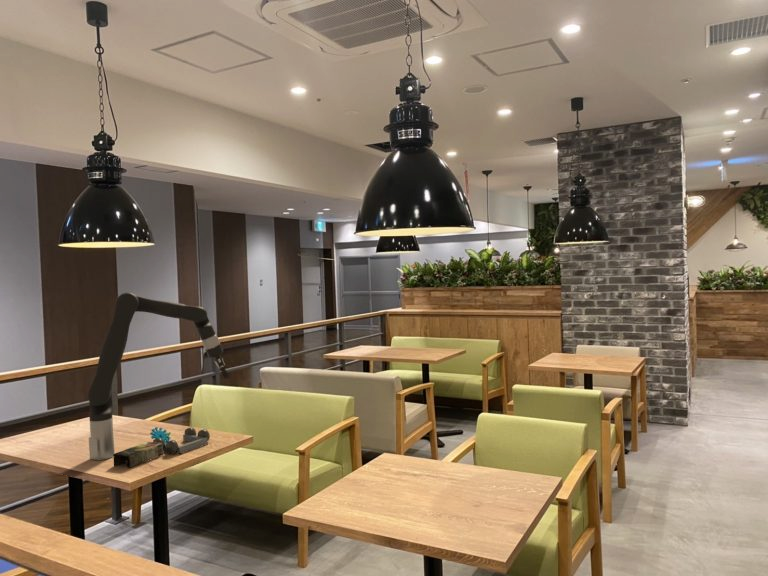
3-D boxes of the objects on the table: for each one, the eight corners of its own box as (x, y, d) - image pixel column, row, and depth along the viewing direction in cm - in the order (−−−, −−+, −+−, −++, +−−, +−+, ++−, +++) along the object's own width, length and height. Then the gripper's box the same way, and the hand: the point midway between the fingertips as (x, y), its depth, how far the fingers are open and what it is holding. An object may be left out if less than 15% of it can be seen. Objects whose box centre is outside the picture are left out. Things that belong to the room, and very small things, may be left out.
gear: (157, 444, 270) (148, 427, 275) (150, 452, 272) (141, 435, 276) (176, 441, 280) (167, 424, 284) (170, 448, 282) (161, 432, 286)
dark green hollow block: (149, 452, 265) (149, 439, 265) (166, 454, 261) (165, 441, 261) (113, 467, 247) (112, 453, 246) (129, 470, 243) (129, 455, 242)
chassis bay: (176, 455, 258) (175, 442, 258) (152, 451, 266) (152, 438, 265) (211, 442, 275) (210, 430, 275) (188, 438, 283) (187, 426, 283)
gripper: (203, 347, 283) (216, 377, 285) (206, 350, 269) (219, 382, 272) (218, 340, 285) (231, 370, 288) (221, 344, 272) (234, 375, 275)
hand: (225, 376), depth 280 cm, fingers open, 8 cm apart
